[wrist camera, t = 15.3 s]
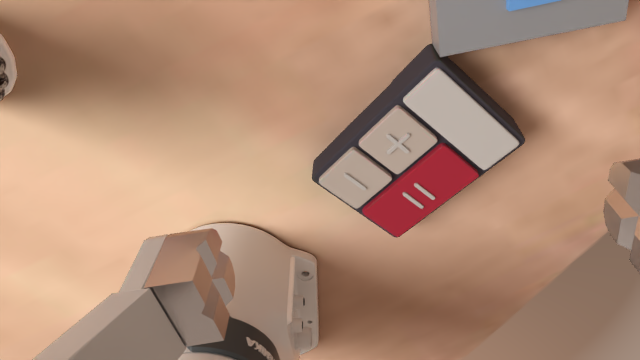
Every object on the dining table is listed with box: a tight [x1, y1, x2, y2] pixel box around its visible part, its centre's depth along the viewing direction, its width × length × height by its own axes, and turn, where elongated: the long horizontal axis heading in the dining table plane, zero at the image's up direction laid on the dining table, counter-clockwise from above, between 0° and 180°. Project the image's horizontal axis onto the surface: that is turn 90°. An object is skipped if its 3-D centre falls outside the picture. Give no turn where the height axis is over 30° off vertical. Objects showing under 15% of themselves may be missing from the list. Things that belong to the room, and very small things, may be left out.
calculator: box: [312, 44, 525, 237], centre depth 41 cm, size 11×4×15 cm
